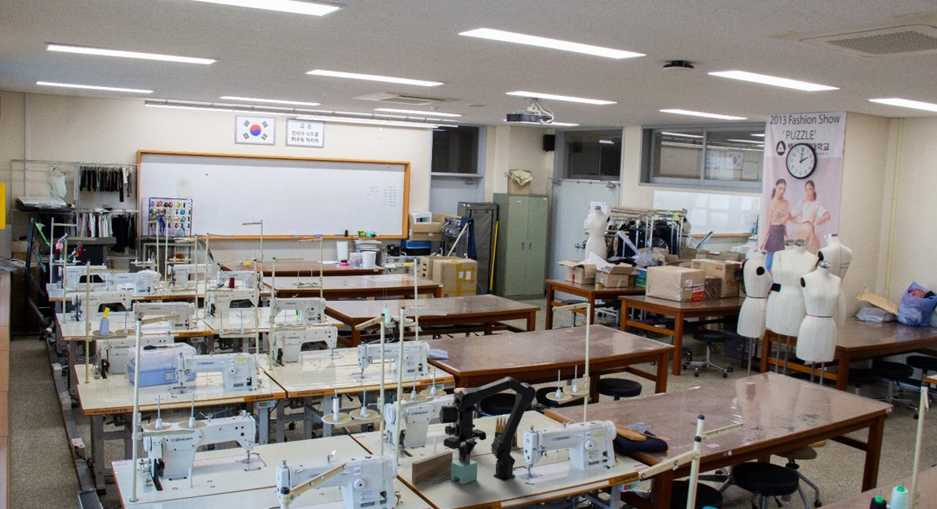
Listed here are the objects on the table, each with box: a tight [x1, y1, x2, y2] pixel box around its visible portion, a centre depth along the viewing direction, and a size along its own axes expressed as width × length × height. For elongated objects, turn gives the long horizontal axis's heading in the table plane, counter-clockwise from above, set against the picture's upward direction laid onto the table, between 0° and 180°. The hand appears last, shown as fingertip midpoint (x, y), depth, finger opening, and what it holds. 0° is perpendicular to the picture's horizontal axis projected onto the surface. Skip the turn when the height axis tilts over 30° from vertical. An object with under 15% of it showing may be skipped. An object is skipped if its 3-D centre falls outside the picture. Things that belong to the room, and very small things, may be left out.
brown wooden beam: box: [411, 450, 453, 486], centre depth 316 cm, size 7×20×8 cm, turn 135°
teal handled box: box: [450, 453, 478, 485], centre depth 315 cm, size 7×8×10 cm
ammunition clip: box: [494, 416, 518, 448], centre depth 357 cm, size 11×2×12 cm, turn 61°
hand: (464, 459), depth 315 cm, fingers closed on teal handled box
